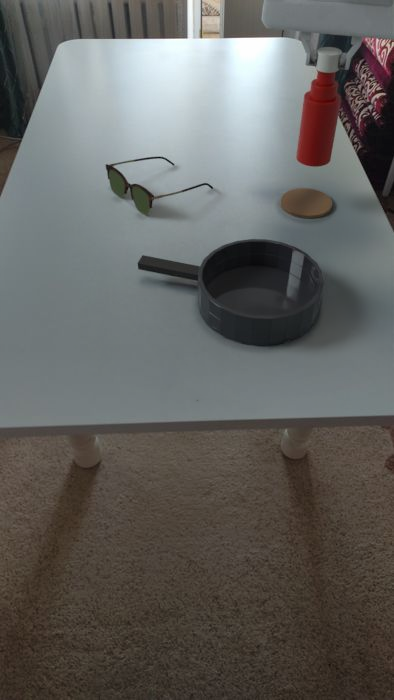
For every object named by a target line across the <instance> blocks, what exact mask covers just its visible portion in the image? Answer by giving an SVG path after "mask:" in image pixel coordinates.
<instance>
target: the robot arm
mask: <svg viewBox="0 0 394 700" xmlns="http://www.w3.org/2000/svg"><path fill="white" fill-rule="evenodd" d="M261 22H262V24H263V25H264V27H265V28H266V29H269V30H278V31H279V30H280V31H290V32H291V31H292V32H300V33H301V36H300V42H301V44H302V46H303V49H304V51H305V54H306V57H305V66H307V67H316V60H317V53H318V49H314V47H313V44H312V41H311V40H312V38H313V36H314V34H321V35H323V34H324V35H332V36H333V35H335V36H344V37H345V36H346V37H351V41H350V44H351V47H350V48H349V50H348V51H347V52H342V54H341V56H340V61H339V62H340V63H339V67H338V69H339V70H346V71H349V69H350V66H351V61H352V58H353V56H354V55H355V54H356V53H357V52H358V50H359V49H360V47H361V46H362V43H363V40H364V38H365V39H377V40H390V41H394V0H263V4H262V11H261Z"/></svg>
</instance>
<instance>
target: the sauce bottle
mask: <svg viewBox="0 0 394 700" xmlns="http://www.w3.org/2000/svg"><path fill="white" fill-rule="evenodd" d="M317 50H318V53H317V60H316V66H314V67H315V70H316V71H317V73H316V78H314V79H312V81H311V82H310V88H309V89H310V90H309V91H307V92H305V93H304V95H303V102H302V109H301V117H300V125H299V132H298V140H297V146H296V147H297V148H296V156H295V159H296V161H297V162H298V163H300V164H301V165H304V166H307V167H312V168H313V167H315V168H317V167H323V166H326V165H328V164H329V163H331V159H332V154H333V153H332V152H333V147H334V141H335V136H336V130H337V127H338V120H339V114H340V108H341V104H342V95H341V94H339V93H338V89H339V82H338V81H337V80H335V79H336V72H338V71H339V70H340V69H338V67H339V63H340V62H339V61H340V56H341V54H342V53H343V51H342V50H341V49H340V48H338V47H333V46H323V47H320V48H318V49H317Z"/></svg>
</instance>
